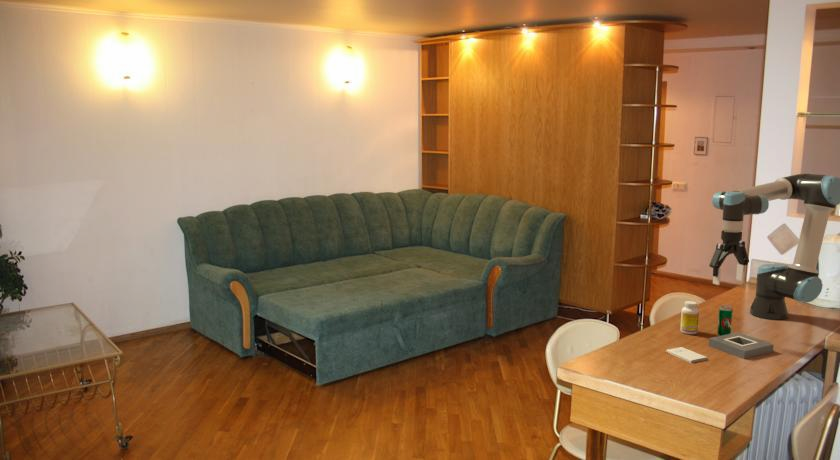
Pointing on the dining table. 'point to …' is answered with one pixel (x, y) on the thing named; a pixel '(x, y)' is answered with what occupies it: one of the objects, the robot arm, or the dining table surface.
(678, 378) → the dining table surface
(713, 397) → the dining table surface
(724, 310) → the soda can
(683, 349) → the external hard drive
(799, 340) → the dining table surface
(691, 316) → the supplement bottle
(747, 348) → the socket board
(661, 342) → the dining table surface
